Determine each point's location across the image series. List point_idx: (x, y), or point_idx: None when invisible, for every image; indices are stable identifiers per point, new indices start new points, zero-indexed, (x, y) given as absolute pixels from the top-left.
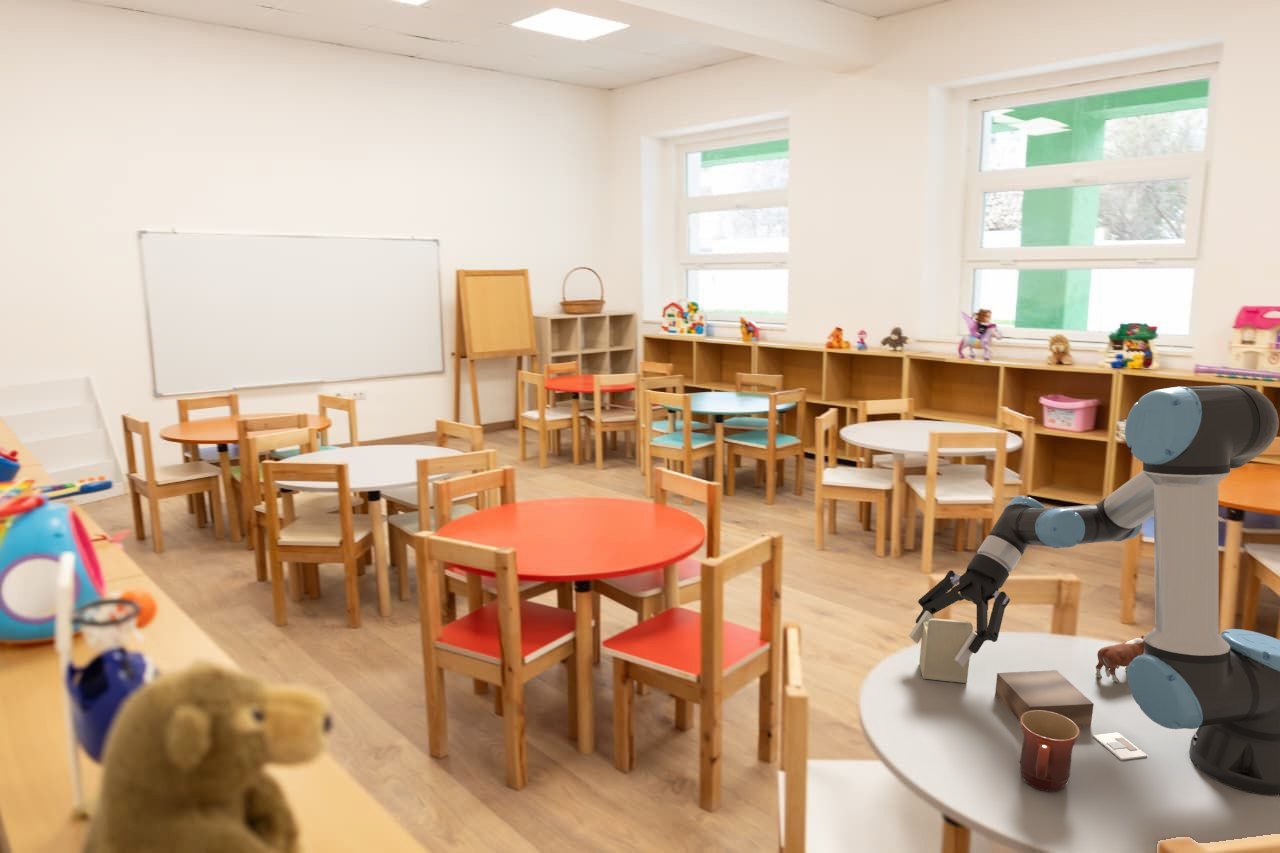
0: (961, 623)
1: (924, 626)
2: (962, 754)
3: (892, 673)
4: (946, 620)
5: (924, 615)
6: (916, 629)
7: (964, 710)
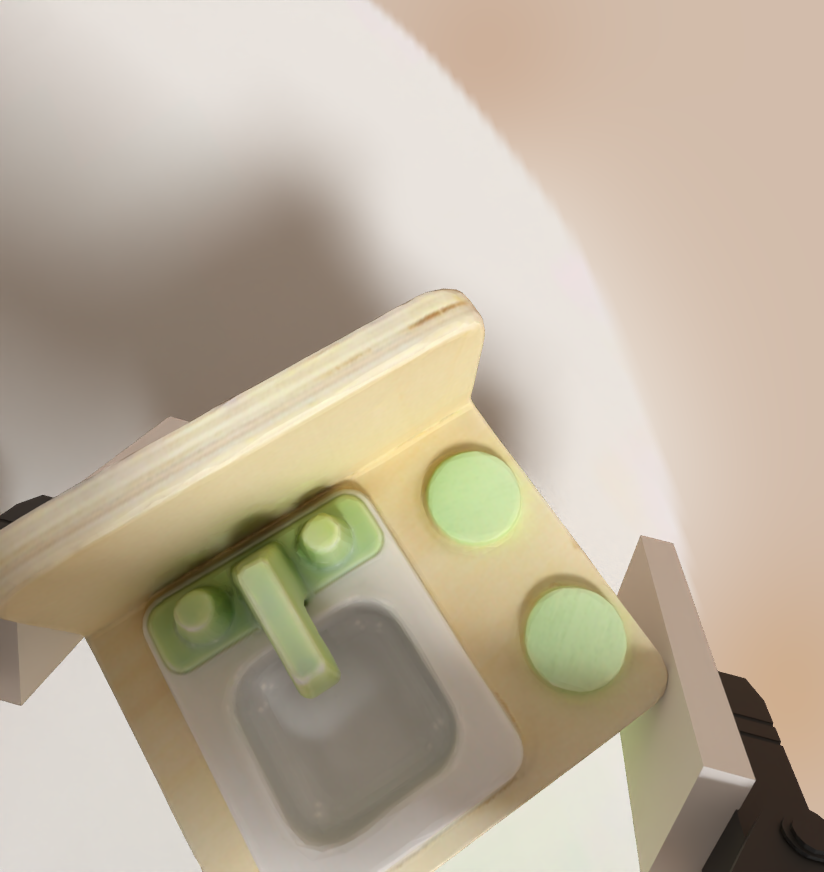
0: (99, 480)
1: (586, 555)
2: (31, 73)
3: (594, 441)
4: (283, 392)
5: (708, 710)
6: (658, 585)
7: (123, 360)
